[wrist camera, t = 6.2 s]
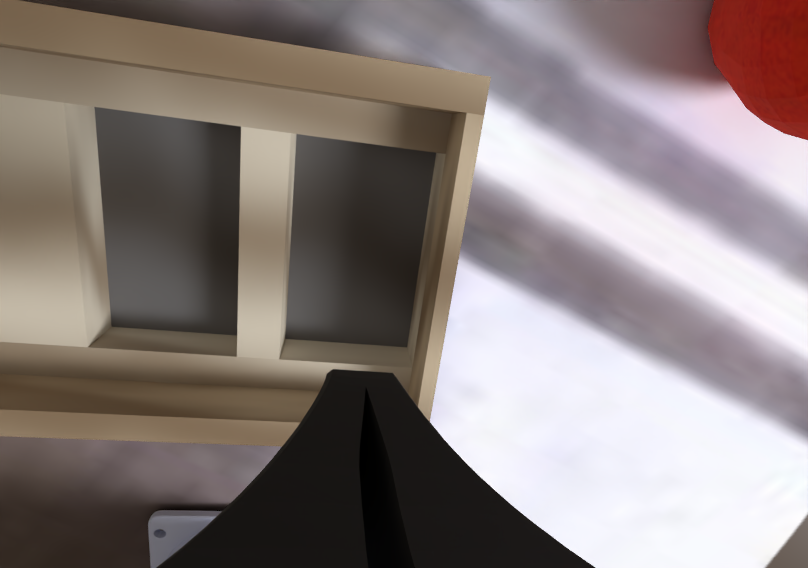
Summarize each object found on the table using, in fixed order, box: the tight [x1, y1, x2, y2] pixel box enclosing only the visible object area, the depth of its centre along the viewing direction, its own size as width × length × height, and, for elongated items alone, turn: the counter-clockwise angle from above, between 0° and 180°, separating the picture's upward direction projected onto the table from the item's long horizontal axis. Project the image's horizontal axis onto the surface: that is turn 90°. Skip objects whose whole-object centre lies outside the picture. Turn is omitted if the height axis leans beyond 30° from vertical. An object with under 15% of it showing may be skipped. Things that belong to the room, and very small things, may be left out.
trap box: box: [0, 0, 491, 446], centre depth 15 cm, size 13×24×4 cm, turn 82°
